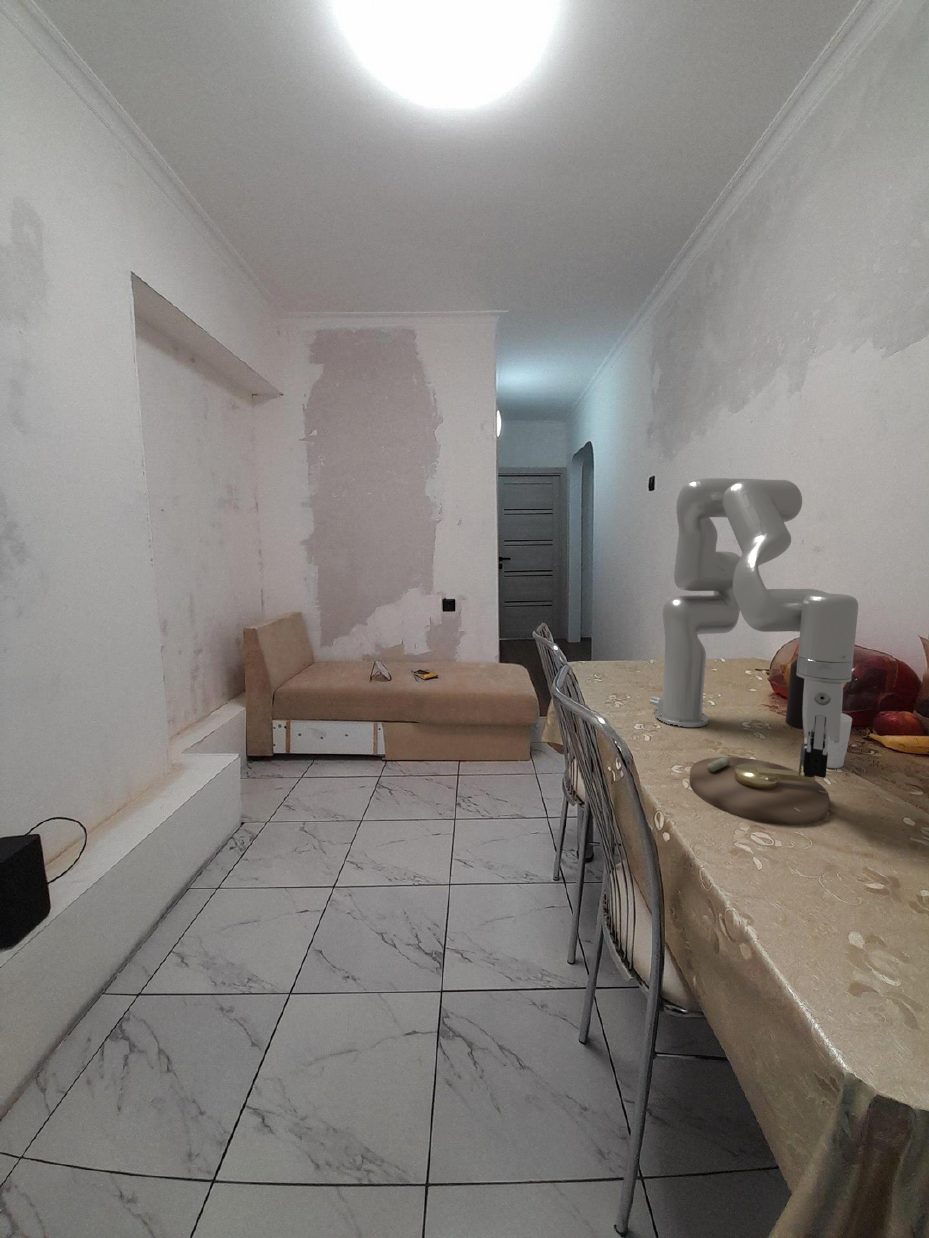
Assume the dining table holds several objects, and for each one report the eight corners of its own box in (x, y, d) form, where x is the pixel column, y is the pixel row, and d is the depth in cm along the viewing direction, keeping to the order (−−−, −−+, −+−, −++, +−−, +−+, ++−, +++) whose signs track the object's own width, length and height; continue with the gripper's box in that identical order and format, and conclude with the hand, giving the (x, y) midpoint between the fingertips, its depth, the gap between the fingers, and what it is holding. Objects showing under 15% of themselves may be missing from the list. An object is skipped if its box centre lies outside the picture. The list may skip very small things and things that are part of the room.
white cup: (854, 771, 105) (860, 722, 103) (810, 767, 106) (815, 720, 105) (835, 755, 112) (840, 710, 111) (794, 752, 114) (799, 707, 112)
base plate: (665, 786, 98) (666, 767, 98) (726, 757, 111) (727, 741, 111) (794, 839, 81) (796, 817, 80) (848, 797, 94) (851, 778, 93)
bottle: (779, 722, 132) (786, 644, 129) (797, 718, 135) (804, 641, 132) (805, 731, 126) (813, 649, 123) (824, 727, 129) (832, 646, 126)
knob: (739, 786, 93) (743, 747, 92) (730, 770, 100) (733, 733, 99) (821, 794, 90) (825, 754, 89) (805, 776, 97) (809, 739, 96)
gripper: (855, 681, 79) (843, 797, 82) (848, 662, 91) (838, 763, 94) (796, 675, 83) (786, 785, 86) (797, 658, 95) (789, 754, 98)
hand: (814, 773), depth 90 cm, fingers closed
